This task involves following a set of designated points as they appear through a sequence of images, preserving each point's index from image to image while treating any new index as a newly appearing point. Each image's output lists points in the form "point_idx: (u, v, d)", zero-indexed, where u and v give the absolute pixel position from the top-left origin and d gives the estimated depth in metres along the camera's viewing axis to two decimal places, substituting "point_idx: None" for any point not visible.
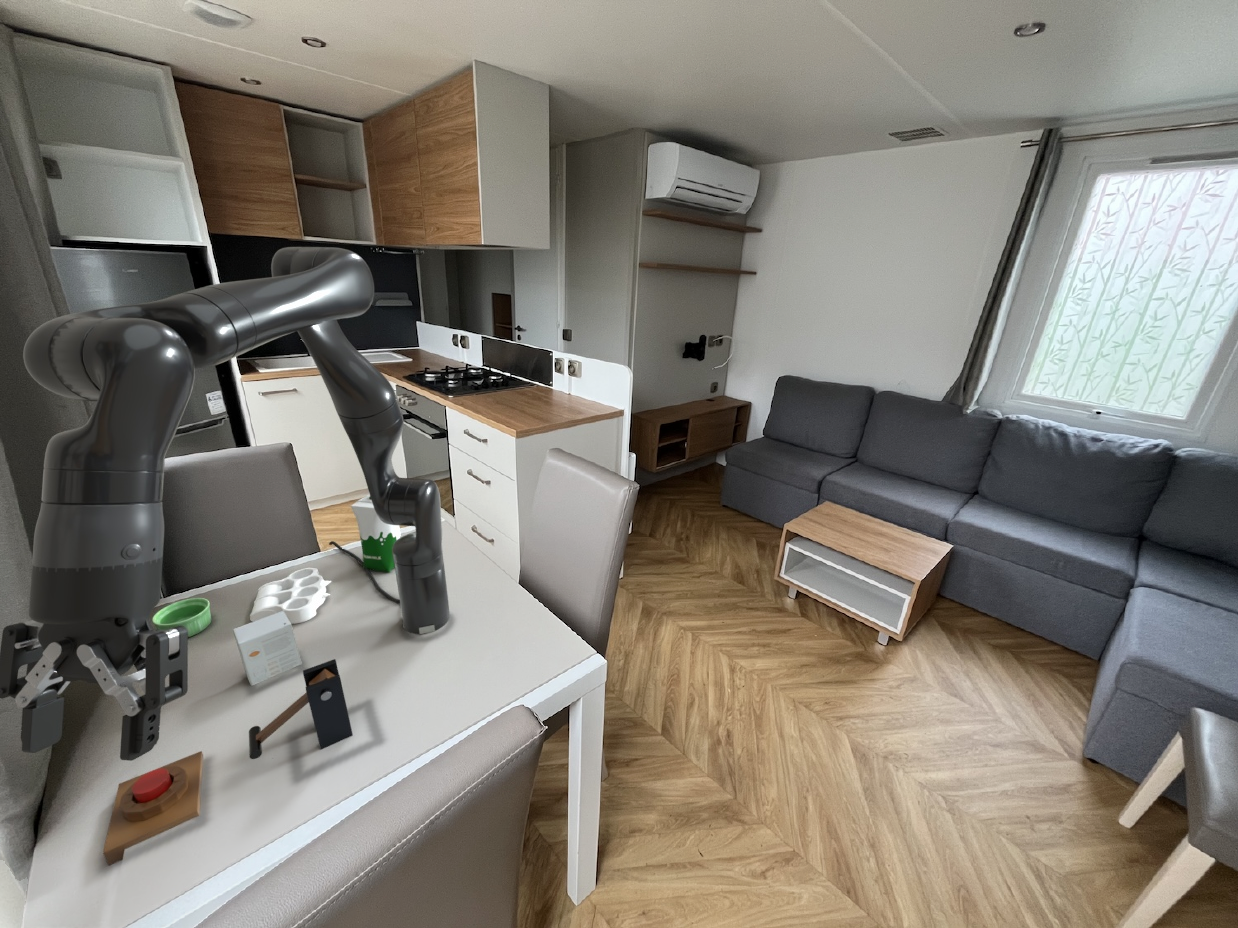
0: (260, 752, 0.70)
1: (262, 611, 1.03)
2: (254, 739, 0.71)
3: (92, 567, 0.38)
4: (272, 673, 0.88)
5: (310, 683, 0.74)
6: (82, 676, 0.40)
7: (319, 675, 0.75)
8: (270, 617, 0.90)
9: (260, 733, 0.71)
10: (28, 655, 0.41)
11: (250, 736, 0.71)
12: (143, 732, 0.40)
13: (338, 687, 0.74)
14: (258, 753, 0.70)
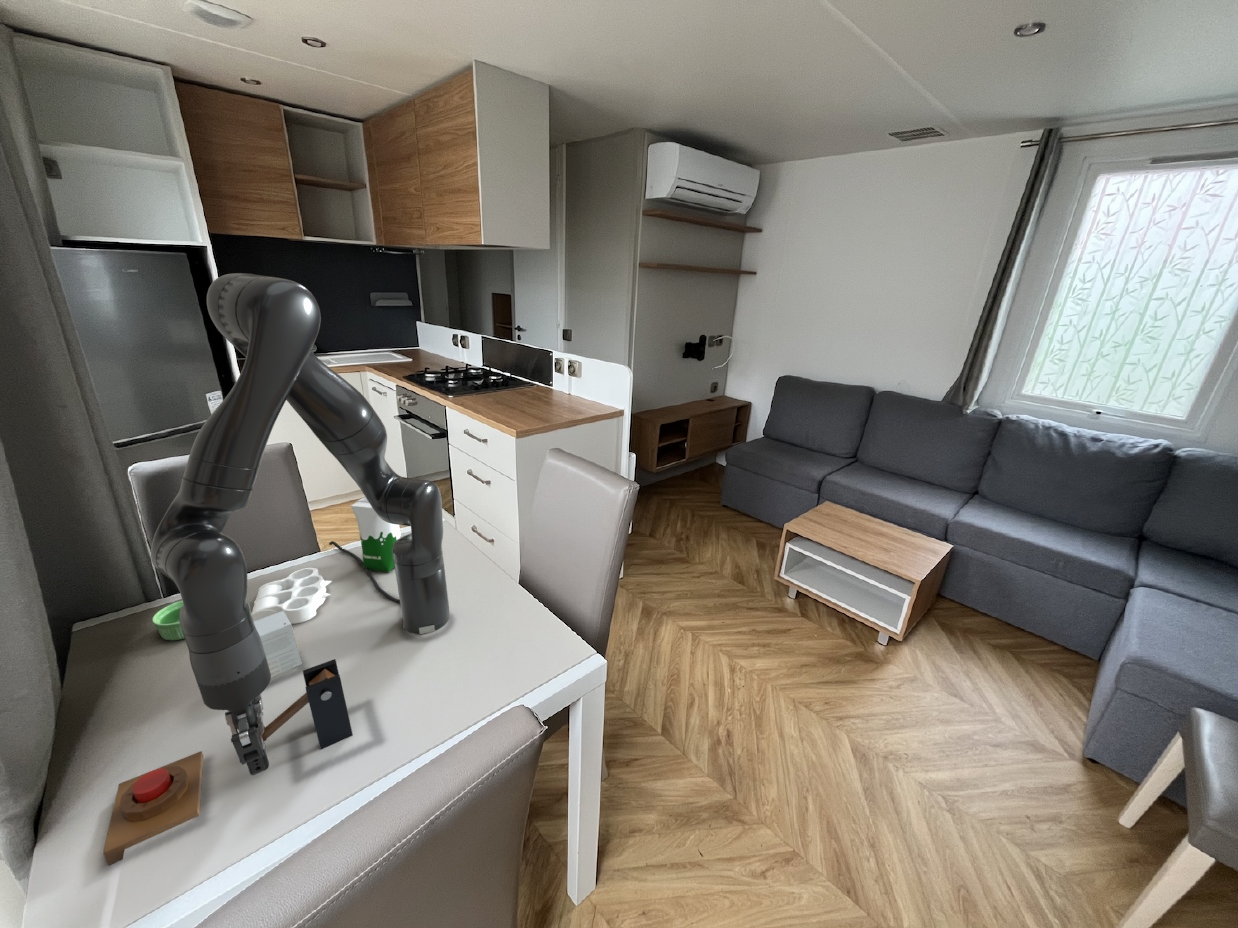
0: None
1: (262, 611, 1.03)
2: None
3: (204, 685, 0.63)
4: (272, 673, 0.88)
5: (310, 683, 0.74)
6: None
7: (319, 675, 0.75)
8: (270, 617, 0.90)
9: None
10: None
11: None
12: (251, 765, 0.68)
13: (338, 687, 0.74)
14: None
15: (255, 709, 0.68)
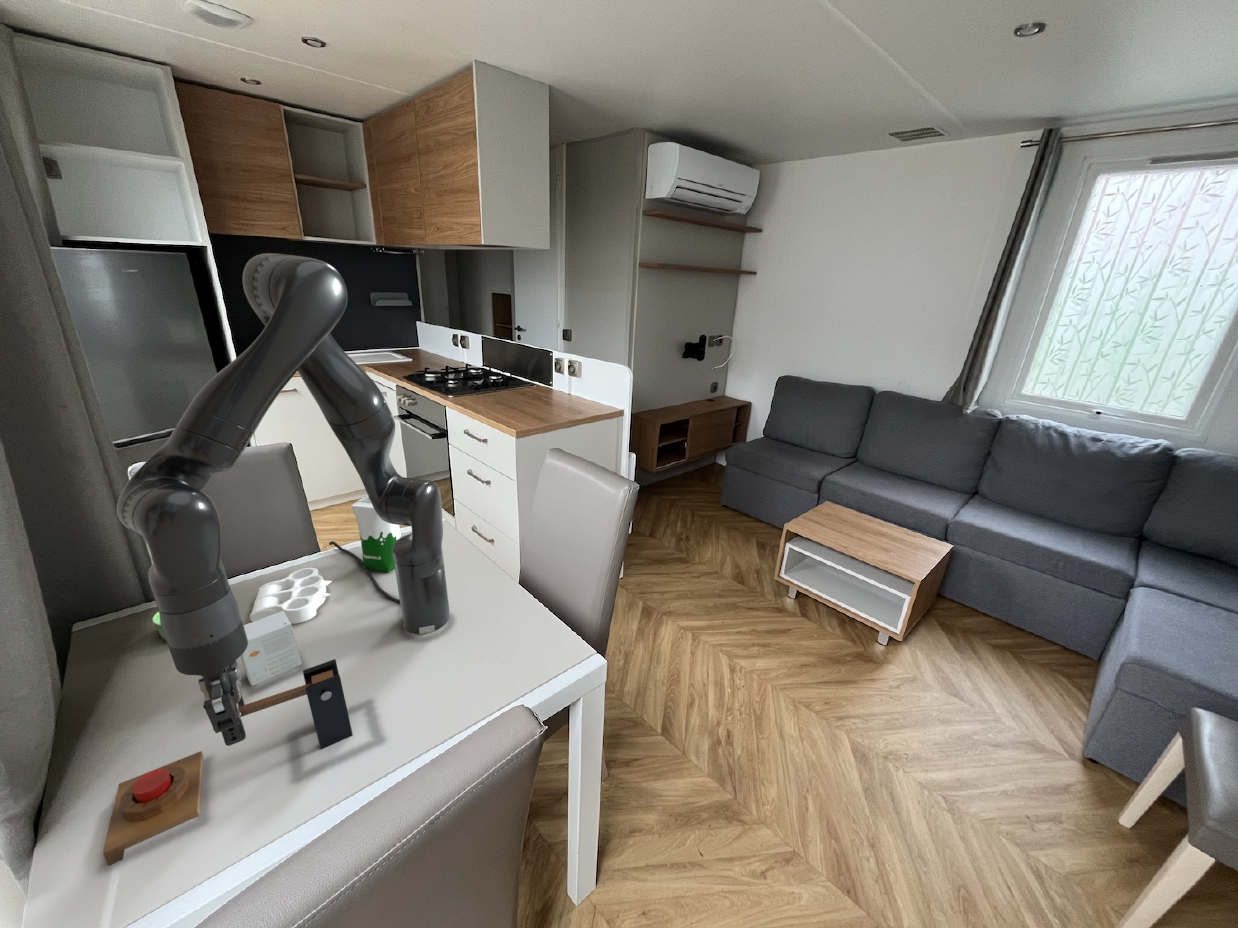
0: None
1: (262, 611, 1.03)
2: None
3: (175, 648, 0.60)
4: (272, 673, 0.88)
5: (313, 677, 0.74)
6: None
7: (324, 673, 0.75)
8: (270, 617, 0.90)
9: (242, 707, 0.69)
10: None
11: None
12: (227, 735, 0.65)
13: (338, 687, 0.74)
14: None
15: (231, 676, 0.65)
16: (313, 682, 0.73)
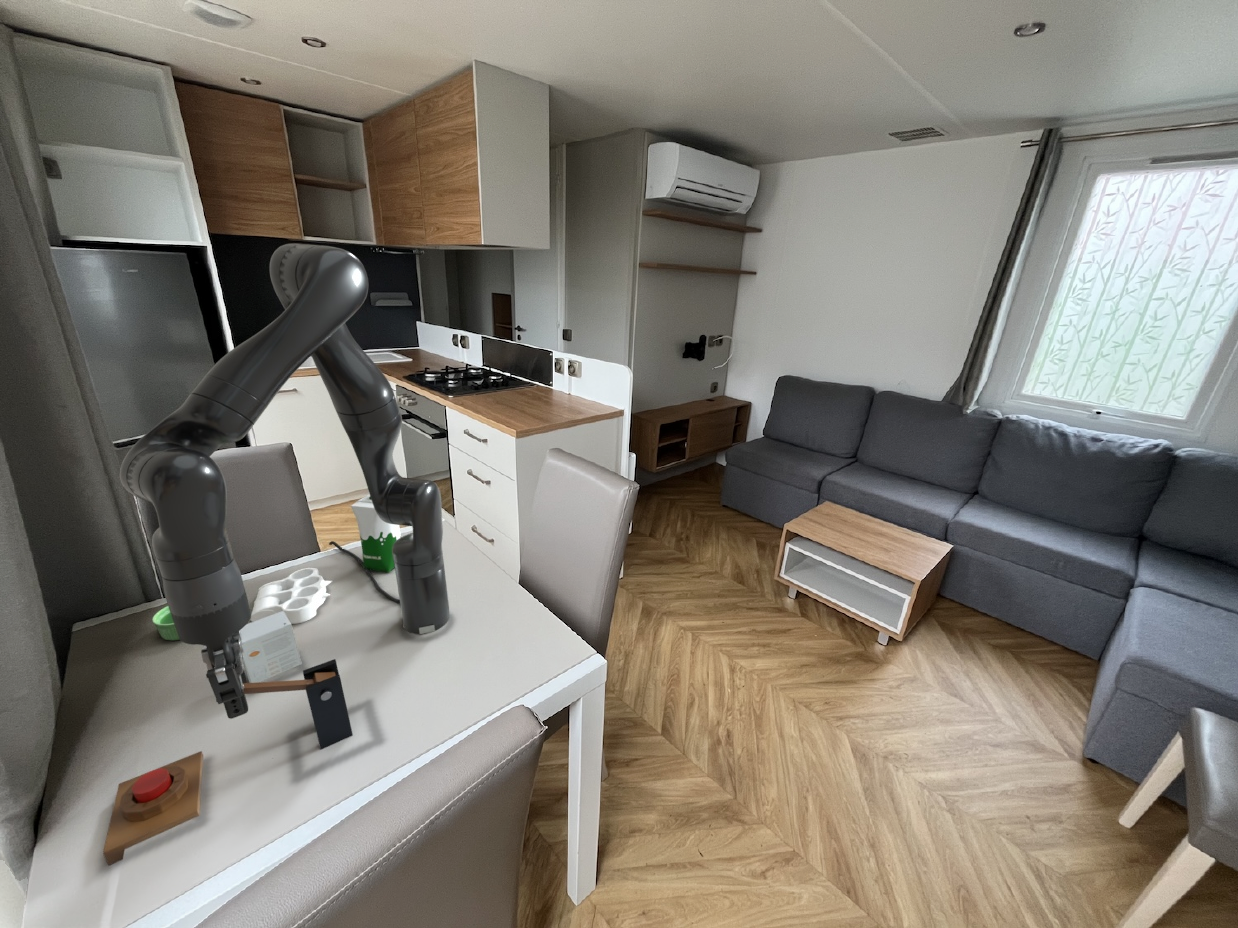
0: None
1: (262, 611, 1.03)
2: None
3: (178, 616, 0.59)
4: (272, 673, 0.88)
5: (317, 674, 0.74)
6: None
7: (328, 673, 0.75)
8: (270, 617, 0.90)
9: (245, 685, 0.68)
10: None
11: None
12: (229, 708, 0.64)
13: (338, 687, 0.74)
14: None
15: (234, 648, 0.64)
16: (317, 679, 0.73)
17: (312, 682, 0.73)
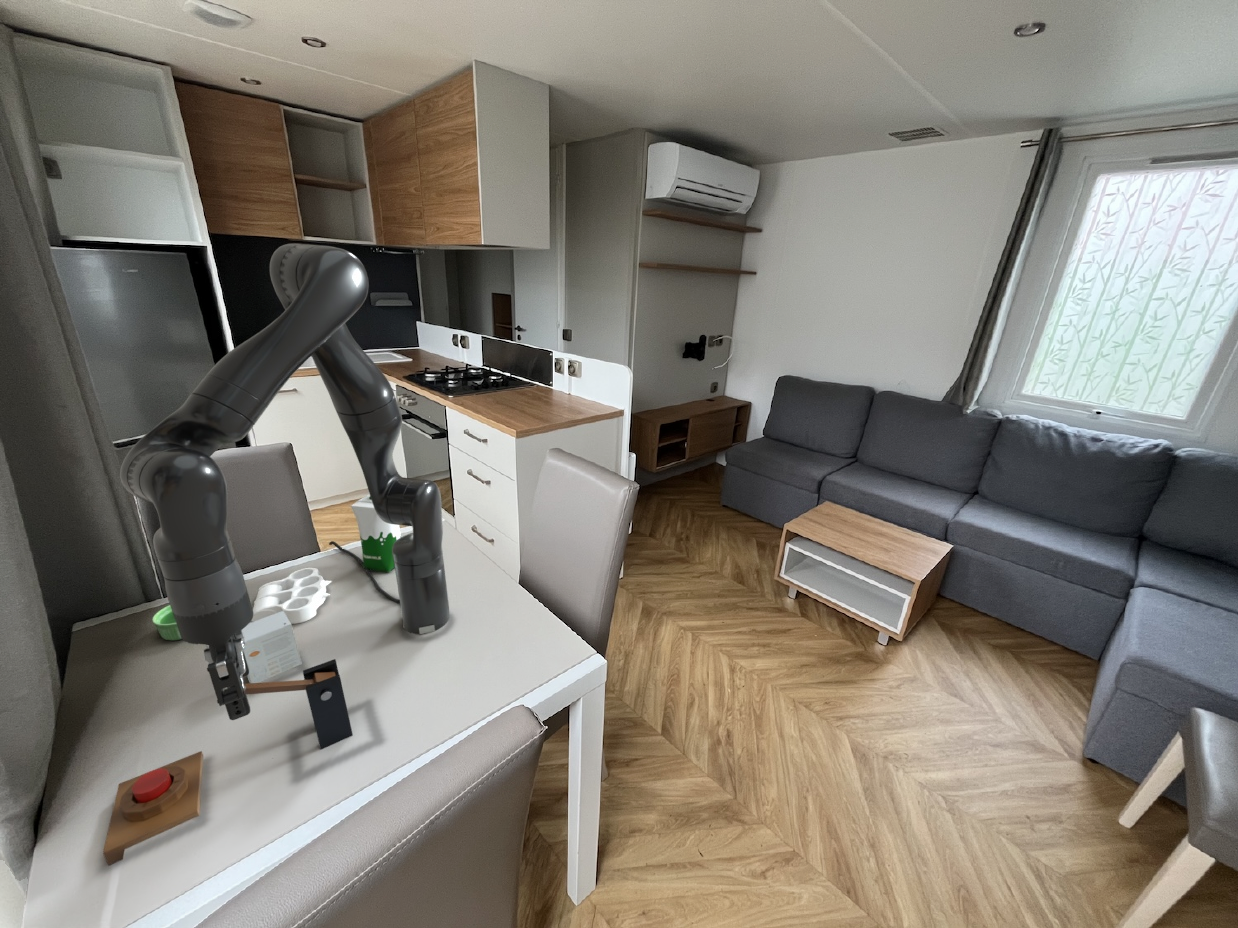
0: None
1: (262, 611, 1.03)
2: None
3: (180, 616, 0.59)
4: (272, 673, 0.88)
5: (316, 674, 0.74)
6: None
7: (328, 673, 0.75)
8: (270, 617, 0.90)
9: (245, 685, 0.68)
10: None
11: None
12: (231, 709, 0.63)
13: (338, 687, 0.74)
14: None
15: (236, 647, 0.65)
16: (317, 679, 0.73)
17: (312, 682, 0.73)
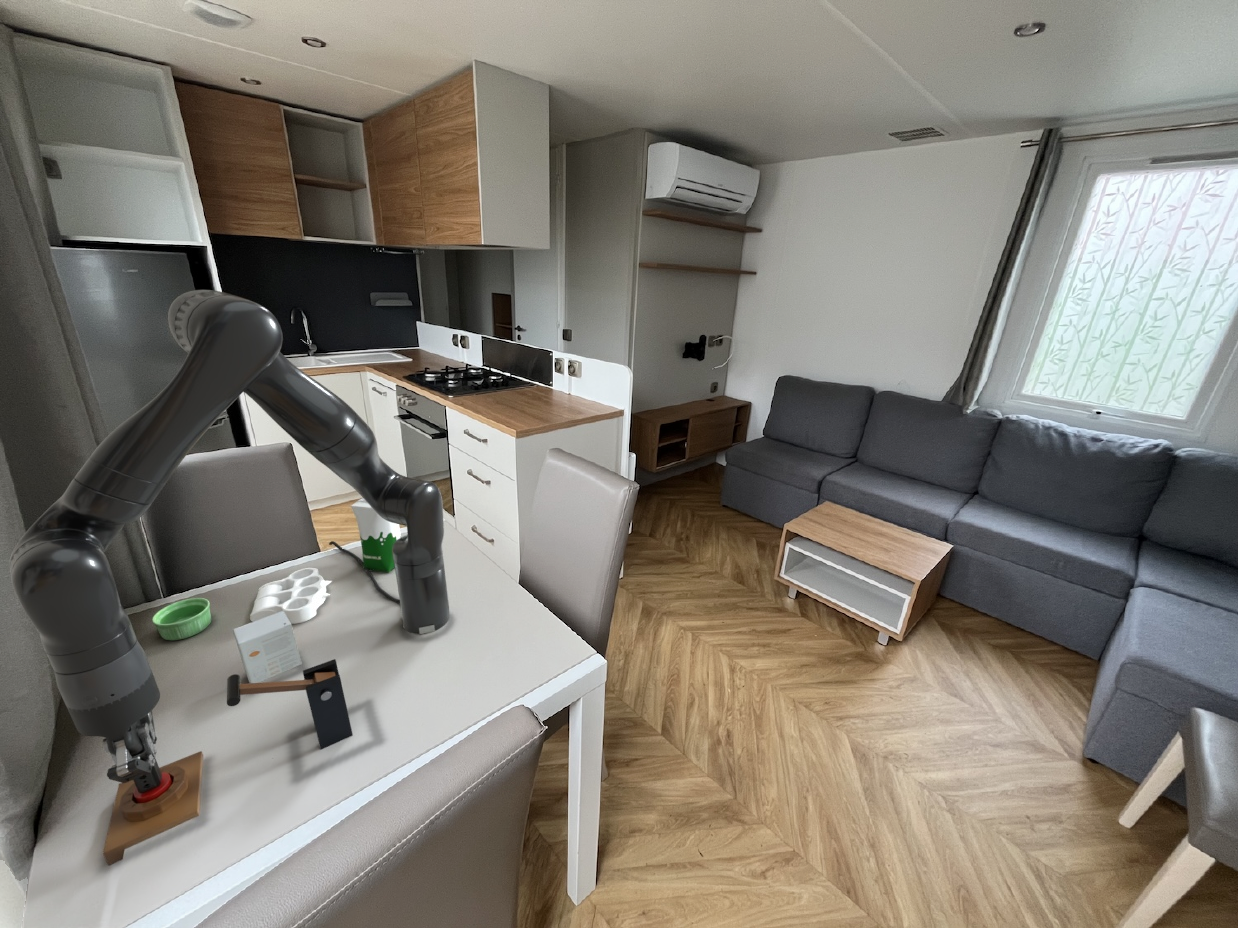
0: (237, 702, 0.66)
1: (262, 611, 1.03)
2: (237, 687, 0.68)
3: (72, 709, 0.57)
4: (272, 673, 0.88)
5: (316, 674, 0.74)
6: None
7: (328, 673, 0.75)
8: (270, 617, 0.90)
9: (245, 685, 0.68)
10: None
11: (234, 681, 0.68)
12: (139, 783, 0.64)
13: (338, 687, 0.74)
14: (235, 702, 0.66)
15: (139, 734, 0.62)
16: (317, 679, 0.73)
17: (312, 682, 0.73)
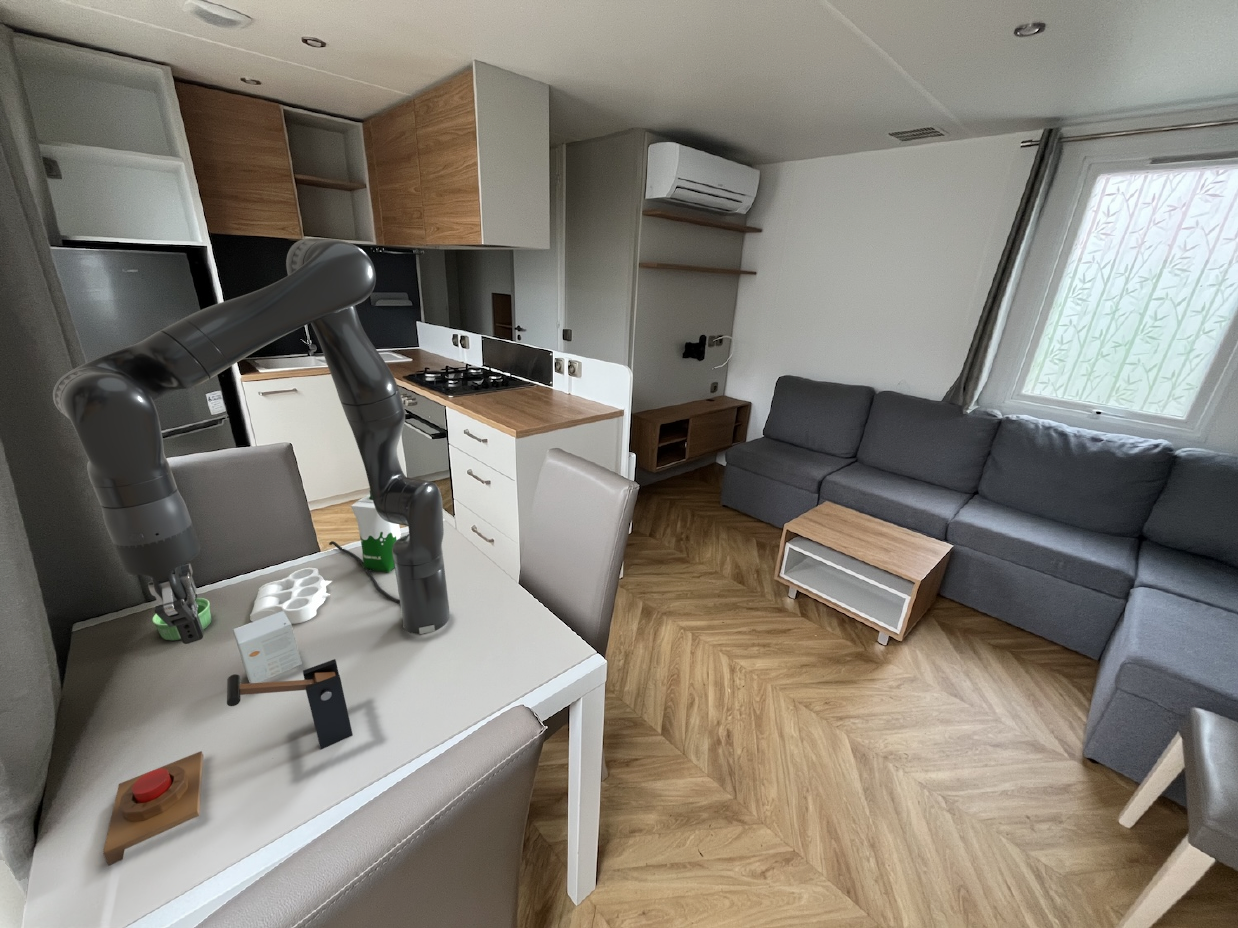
0: (237, 702, 0.66)
1: (262, 611, 1.03)
2: (237, 687, 0.68)
3: (119, 545, 0.59)
4: (272, 673, 0.88)
5: (316, 674, 0.74)
6: None
7: (328, 673, 0.75)
8: (270, 617, 0.90)
9: (245, 685, 0.68)
10: None
11: (234, 681, 0.68)
12: (183, 632, 0.66)
13: (338, 687, 0.74)
14: (235, 702, 0.66)
15: (182, 581, 0.64)
16: (317, 679, 0.73)
17: (312, 682, 0.73)
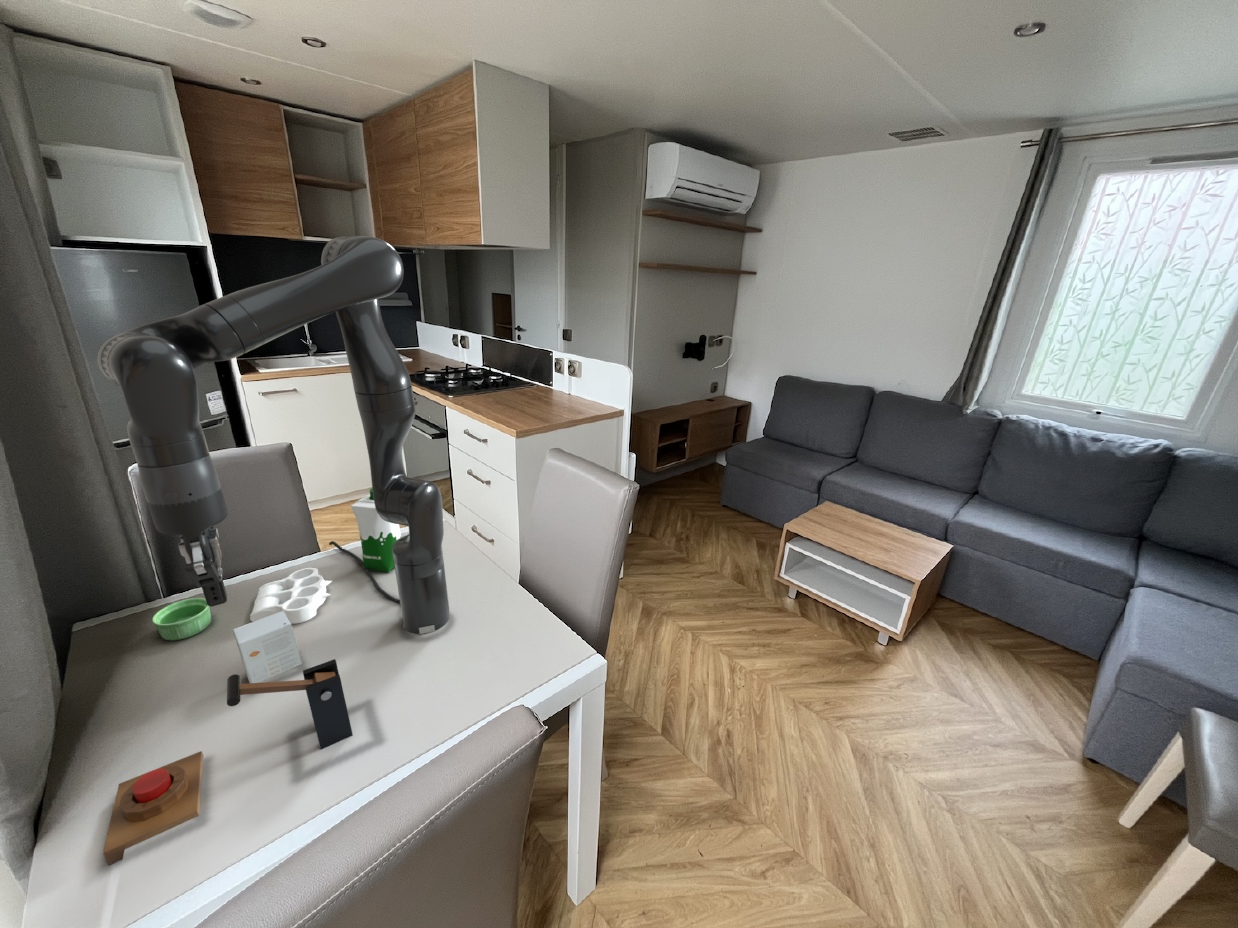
0: (237, 702, 0.66)
1: (262, 611, 1.03)
2: (237, 687, 0.68)
3: (154, 504, 0.61)
4: (272, 673, 0.88)
5: (316, 674, 0.74)
6: None
7: (328, 673, 0.75)
8: (270, 617, 0.90)
9: (245, 685, 0.68)
10: None
11: (234, 681, 0.68)
12: (208, 595, 0.68)
13: (338, 687, 0.74)
14: (235, 702, 0.66)
15: (210, 543, 0.66)
16: (317, 679, 0.73)
17: (312, 682, 0.73)
